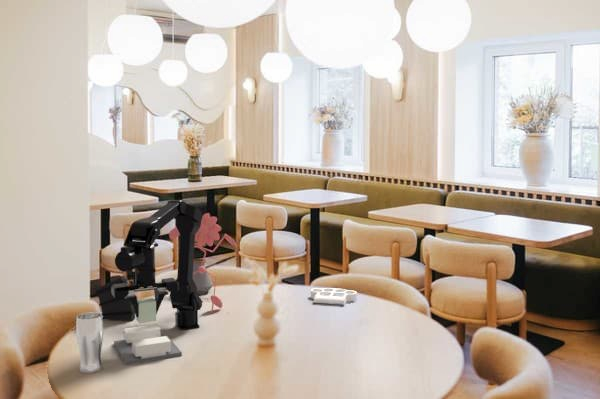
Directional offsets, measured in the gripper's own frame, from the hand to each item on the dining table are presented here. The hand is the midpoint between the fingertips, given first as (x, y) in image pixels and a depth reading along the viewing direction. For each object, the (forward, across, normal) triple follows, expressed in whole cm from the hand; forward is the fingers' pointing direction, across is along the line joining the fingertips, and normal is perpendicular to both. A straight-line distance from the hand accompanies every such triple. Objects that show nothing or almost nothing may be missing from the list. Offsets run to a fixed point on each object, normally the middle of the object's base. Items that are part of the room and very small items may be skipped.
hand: (146, 315), depth 184 cm
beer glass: (+10, +17, +8) cm, 22 cm away
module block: (+1, 0, 0) cm, 1 cm away
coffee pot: (+11, -37, -54) cm, 66 cm away
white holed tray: (+11, -76, -23) cm, 80 cm away
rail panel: (+10, 0, 0) cm, 10 cm away
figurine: (+11, -29, -34) cm, 46 cm away
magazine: (+11, +3, -34) cm, 36 cm away
